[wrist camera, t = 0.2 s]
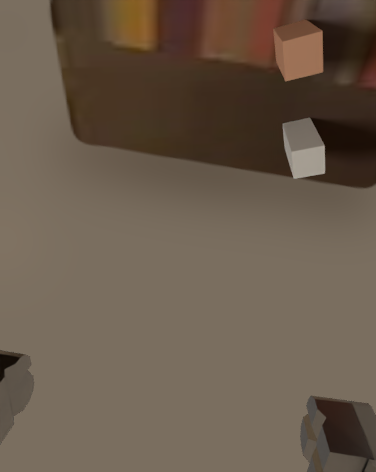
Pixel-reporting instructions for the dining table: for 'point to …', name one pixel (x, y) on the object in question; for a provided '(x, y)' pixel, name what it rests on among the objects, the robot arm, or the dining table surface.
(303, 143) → the white block
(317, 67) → the terracotta block
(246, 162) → the dining table surface
